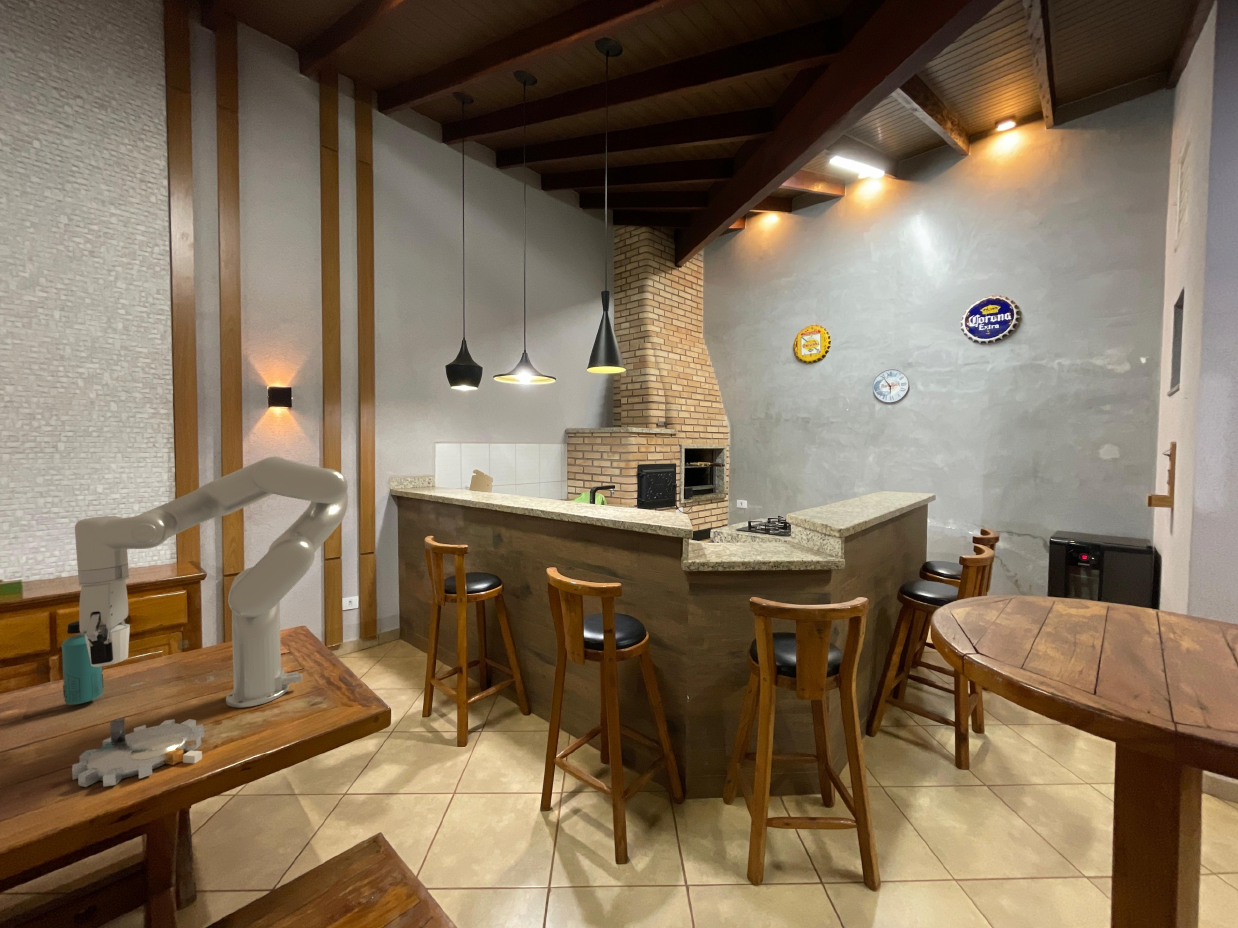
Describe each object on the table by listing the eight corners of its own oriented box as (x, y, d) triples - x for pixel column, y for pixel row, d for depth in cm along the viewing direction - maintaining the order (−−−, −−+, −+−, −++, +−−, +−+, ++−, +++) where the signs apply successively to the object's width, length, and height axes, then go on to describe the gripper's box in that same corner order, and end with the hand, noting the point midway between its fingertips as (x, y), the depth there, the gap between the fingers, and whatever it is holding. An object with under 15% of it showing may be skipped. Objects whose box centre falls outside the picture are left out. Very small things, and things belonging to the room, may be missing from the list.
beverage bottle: (110, 699, 120) (107, 618, 119) (73, 713, 114) (69, 627, 113) (94, 695, 122) (91, 615, 121) (56, 708, 116) (52, 624, 115)
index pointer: (183, 762, 96) (182, 754, 96) (190, 757, 98) (190, 750, 98) (194, 763, 96) (194, 755, 96) (202, 758, 98) (201, 751, 98)
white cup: (102, 669, 103) (100, 636, 103) (77, 666, 105) (75, 634, 104) (140, 655, 110) (138, 624, 110) (116, 652, 111) (114, 622, 111)
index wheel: (226, 734, 105) (225, 706, 105) (120, 794, 87) (118, 761, 87) (160, 722, 109) (159, 696, 109) (46, 777, 91) (44, 746, 91)
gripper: (98, 567, 112) (104, 645, 113) (57, 587, 97) (64, 677, 98) (142, 563, 116) (147, 638, 117) (110, 581, 101) (116, 668, 101)
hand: (109, 655), depth 107 cm, fingers closed on white cup, 6 cm apart
